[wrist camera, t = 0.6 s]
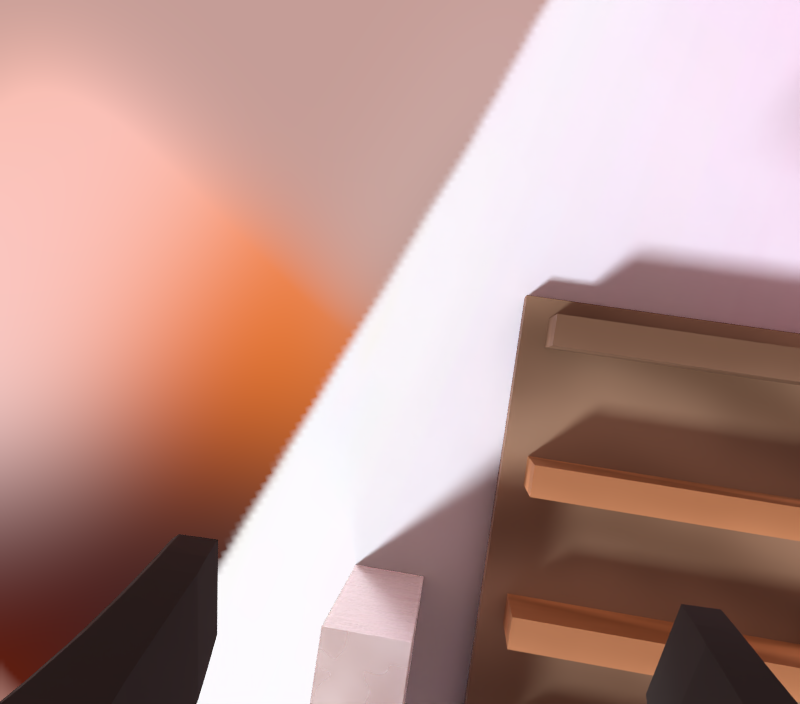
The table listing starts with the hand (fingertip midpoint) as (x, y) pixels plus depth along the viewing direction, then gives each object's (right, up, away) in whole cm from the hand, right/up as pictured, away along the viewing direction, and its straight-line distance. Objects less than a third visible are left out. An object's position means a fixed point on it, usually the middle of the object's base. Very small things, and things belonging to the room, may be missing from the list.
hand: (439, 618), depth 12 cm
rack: (+10, -4, +20) cm, 23 cm away
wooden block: (-2, -10, +21) cm, 23 cm away
